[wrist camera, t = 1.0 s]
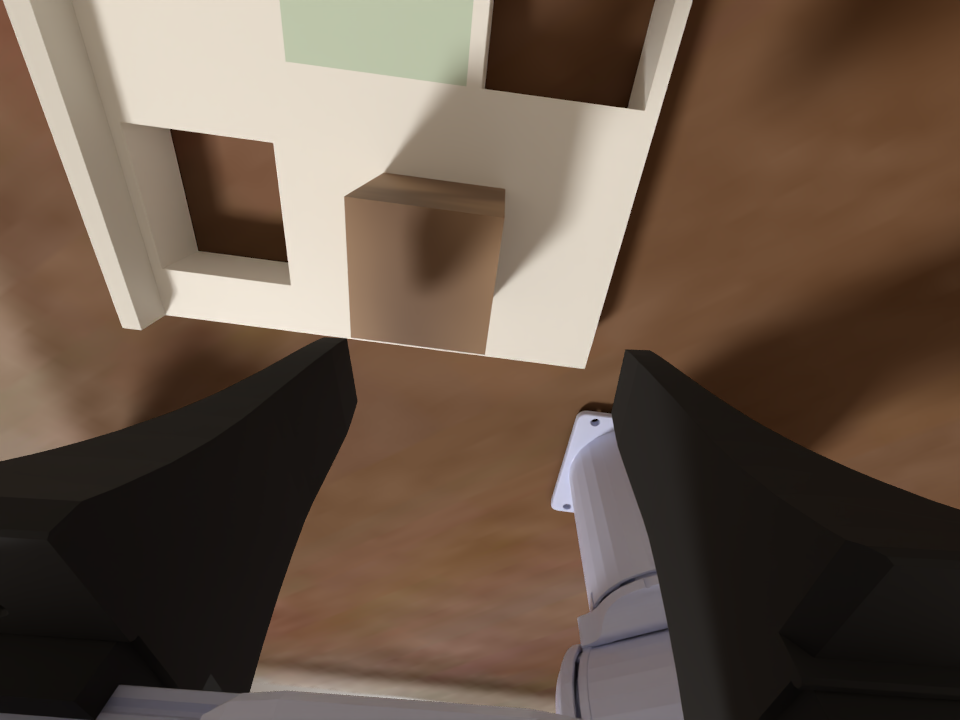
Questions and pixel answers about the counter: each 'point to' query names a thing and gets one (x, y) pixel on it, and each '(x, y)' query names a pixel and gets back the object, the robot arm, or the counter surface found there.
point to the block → (423, 261)
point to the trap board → (335, 151)
